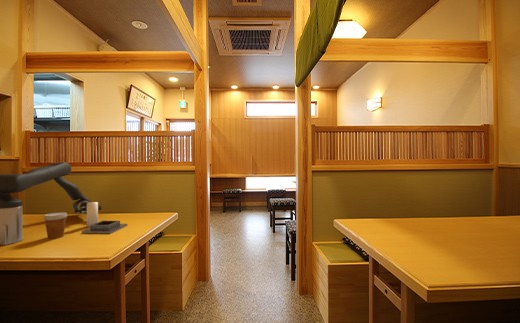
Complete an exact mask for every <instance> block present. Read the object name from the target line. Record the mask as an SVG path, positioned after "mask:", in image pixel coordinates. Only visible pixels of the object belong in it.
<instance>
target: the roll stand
mask: <svg viewBox="0 0 520 323" xmlns="http://www.w3.org/2000/svg"><path fill="white" fill-rule="evenodd" d="M127 226H128V223H121V220H101V221H98V223H95V224H93V225H90V227H88V228H87V229H84V230H82V231H81V234H82V233H97V235H98V234H100V235H103V234H104V235H107V234H109V235H111V234H113V233H115V232H117V231H120V230H122V229H124V228H125V227H127Z"/></svg>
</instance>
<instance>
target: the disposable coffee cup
mask: <svg viewBox="0 0 520 323" xmlns="http://www.w3.org/2000/svg"><path fill="white" fill-rule="evenodd" d="M67 217H68V213H67V212H63V211H61V212H60V211H59V212H51V213H47V214H46V213H45V214H44V217H43V220H44V224H45V225H44V226H45V230H46V235H47V239H48V240H54V239H60V238H62V237H65V236H64V235H65V230H66V222H67Z"/></svg>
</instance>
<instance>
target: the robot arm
mask: <svg viewBox="0 0 520 323" xmlns="http://www.w3.org/2000/svg"><path fill="white" fill-rule="evenodd" d="M71 172H72V166H71V165H70V163H68V162H65V161H60V162H56V163H55V162H54V163H51V164H48V165H46V166H39V167H35V168H31V169H30V170H28V171H27V172H26V173H6V174H4V173H2V174H0V246H7V245H12V244H15V243H19V242H21V241H23V240H24V238H23V236H24V234H23V232H24V231H23V229H24V228H23V225H24V224H23V222H24V221H23V218H24V217H23V213H24V212H23V208H24V207H23V200H22V199H20V198H16V197H14V196H12V195H11V194H18V193H21V192H24V191H26V190H28V189H29V188H31V187H35V186H37V185H41V184H44V183H46V182H49V181H52V180H54V181H55V182H56V184H58V185H59V187H61V188H62V189H63V190H64V191H65V193H66V194H67V195H68V197H69V198H70V199H71V200H72V201H74V202H73V203H72V208H73V212H74V214H77V213H79V214H85V215H87V203H90V202H92V201H91V200H90V199H89V197H87V196H86V195H84V194H83V193H82V190H80V188H79V187H78V186H77V185H76V184H74V183H73V182H71V181H68V180H66V179H65V178H64V177H65V176H68V175H69V174H71ZM101 210H102V205H100V204H98V211H101Z"/></svg>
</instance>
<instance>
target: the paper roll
mask: <svg viewBox="0 0 520 323" xmlns="http://www.w3.org/2000/svg"><path fill="white" fill-rule="evenodd" d="M98 205H99V202H98V201H95V202H93V201H91V202H90V203H87V213H86V227H87V228H90V225H93V224H95V223H98V222H99V210H98Z"/></svg>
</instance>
